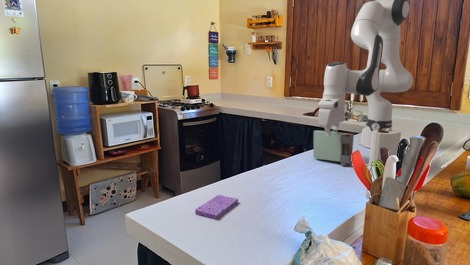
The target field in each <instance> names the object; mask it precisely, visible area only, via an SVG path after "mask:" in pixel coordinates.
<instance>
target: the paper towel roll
mask: <svg viewBox="0 0 470 265" xmlns="http://www.w3.org/2000/svg"><path fill="white" fill-rule="evenodd" d="M401 135H402V132H401V131H400V132H394V131H393V132H391V131H386V130H373V131H372V139H371V148H369V149H370V152H369V159H368V160H369V163H370V162H372V161H374V160H378V159H380V148H381V147H387V148H388V151H389V156H391V155H397V149H398V145H399V143H400V142H401ZM400 144H401V143H400ZM399 146H400V145H399ZM369 163H368V164H369ZM369 196H370V194H369V192H368V190H367V188H366V192H365V197H366V198H367V199H368V197H369Z"/></svg>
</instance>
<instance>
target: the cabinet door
mask: <svg viewBox="0 0 470 265" xmlns="http://www.w3.org/2000/svg"><path fill="white" fill-rule="evenodd" d="M343 133H344V132H340V131H337V132H331V136H329V137H327V136H325V130H313V159H318V160H319V159H320V160H325V161H331V160H332V162H336V161H340V162H339V163H341V162H343V163H350V164H351V154H349V155H348V156H346V155H344V153H343V154H342V150H343V144H351V143H353V144H354V137H353V135H350V136H349V137H348V136H346V135H343Z"/></svg>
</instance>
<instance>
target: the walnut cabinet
mask: <svg viewBox="0 0 470 265" xmlns="http://www.w3.org/2000/svg"><path fill="white" fill-rule="evenodd" d="M330 132H332V130H330ZM342 133H343V135H346V136H348V137H349V136H350V135H353V138H354V136H355V134H354V133H347V132H342ZM353 146H354V142H353V143H351V144H343V150H342V154H343V153H344V155H346V156H348V155H349V154H352V155H353V149H354V148H353ZM330 161H332V160H330ZM332 162H333V161H332ZM335 162H337V163H340V166H342V167H347V168H349V167H351V162H350V163H343V162H340V161H335Z"/></svg>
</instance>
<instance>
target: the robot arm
mask: <svg viewBox="0 0 470 265" xmlns="http://www.w3.org/2000/svg"><path fill="white" fill-rule="evenodd" d="M409 13H410V3H409V1H408V0H371V1H365V2H363V3H361V4H360V5H359V7H358V9H357V12H356V18H355V20H354V22H353V25H352V28H351V31H350V37H351V41H352V42H353V43H354V44H355V45H356V46H358V47H360V48H361V49H364V50H367V51H368V57H367V64H366V67H365V69H362V70H352V69H350V68H347V67H348V66H347V62H345V61H333V62H330V63H327V65H326V67H325V71H324V76H323V87H324V89H323V93H322V98H321V99H320V101H319V102H318V103H317V108H319V109H318V116H317V120H318V127H320V128H324V131H325V136H327V137H329V136H331V132H330V131H332V132H338V129H339V126H340V123H343V122H344V120H345V118H346V117H345V112H346V109H345V106H346V105H345V104H346V94H350V95H351V94H352V95H360V96H365V98H366V101H367V118H366V120H365V125H366V126H365V127H364V128H362V130H361V131H362V132H361V139H360V141H359V140H358V141H357V144H358V145H360V146H362V147H363V148H369V149H371V139H372V131H373V130H386V129H387V128H390V129H391V132H394V131H393V129H392V127H393V120H392V119H393V118H392V116H393V108H394V106H393V103H392V102H391V101H390V100H388V99H385V97H382V96H381V93H402V92H407V91H409V90H410V88H411V87H412V86H413V83H414V76H413V74H412V73H411V72H410V71H408V69H406V68H405V67H404V66H403V64H402V61H401V58H400V44H401V33H402V32H401V30H402V29H401V28H402V27H401V24H402V23H403V22H404V21H405V20H406V19H407V18H408V16H409ZM381 64H384V65H385V67H386V68H385V69H381ZM331 127H332V129H331Z"/></svg>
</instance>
